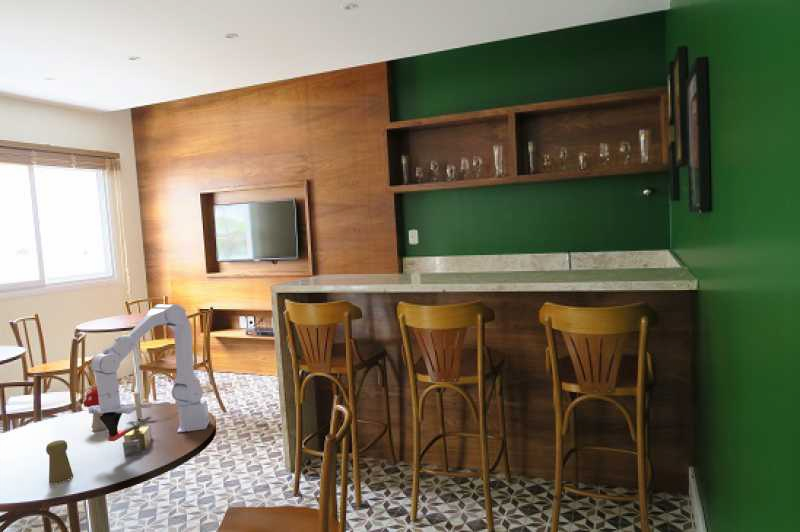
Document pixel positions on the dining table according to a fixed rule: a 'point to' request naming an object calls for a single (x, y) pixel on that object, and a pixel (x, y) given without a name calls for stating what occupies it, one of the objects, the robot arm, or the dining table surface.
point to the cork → (58, 462)
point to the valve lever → (123, 431)
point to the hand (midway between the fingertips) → (113, 435)
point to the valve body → (137, 440)
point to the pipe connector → (139, 405)
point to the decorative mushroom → (93, 400)
